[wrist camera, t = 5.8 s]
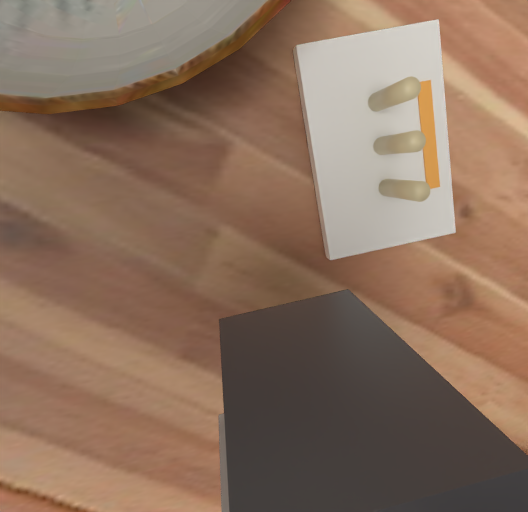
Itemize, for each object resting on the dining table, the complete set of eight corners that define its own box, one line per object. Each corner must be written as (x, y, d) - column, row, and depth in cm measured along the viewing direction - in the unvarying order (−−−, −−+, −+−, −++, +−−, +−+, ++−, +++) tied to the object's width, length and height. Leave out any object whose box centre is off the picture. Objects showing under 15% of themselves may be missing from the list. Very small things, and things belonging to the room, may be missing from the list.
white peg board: (292, 50, 22) (313, 17, 17) (429, 25, 23) (487, -14, 18) (325, 256, 25) (352, 278, 20) (446, 230, 25) (500, 244, 21)
